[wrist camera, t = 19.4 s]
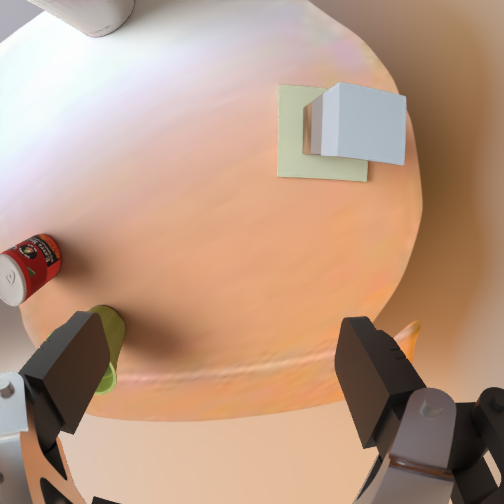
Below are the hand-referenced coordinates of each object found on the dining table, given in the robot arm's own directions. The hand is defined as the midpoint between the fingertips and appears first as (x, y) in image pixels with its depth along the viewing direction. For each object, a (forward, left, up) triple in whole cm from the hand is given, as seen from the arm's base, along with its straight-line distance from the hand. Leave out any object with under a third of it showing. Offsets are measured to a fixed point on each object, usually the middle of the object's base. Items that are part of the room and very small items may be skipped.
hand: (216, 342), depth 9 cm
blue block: (-9, +11, -19) cm, 24 cm away
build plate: (-9, +11, -30) cm, 33 cm away
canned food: (+8, -32, -30) cm, 45 cm away
